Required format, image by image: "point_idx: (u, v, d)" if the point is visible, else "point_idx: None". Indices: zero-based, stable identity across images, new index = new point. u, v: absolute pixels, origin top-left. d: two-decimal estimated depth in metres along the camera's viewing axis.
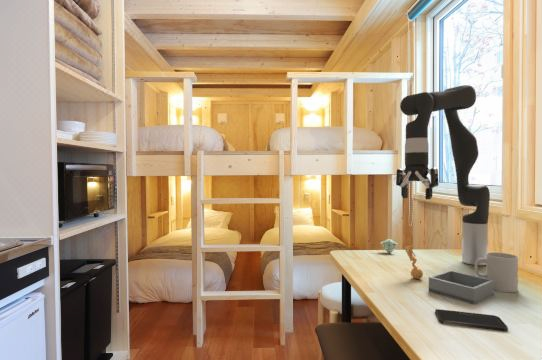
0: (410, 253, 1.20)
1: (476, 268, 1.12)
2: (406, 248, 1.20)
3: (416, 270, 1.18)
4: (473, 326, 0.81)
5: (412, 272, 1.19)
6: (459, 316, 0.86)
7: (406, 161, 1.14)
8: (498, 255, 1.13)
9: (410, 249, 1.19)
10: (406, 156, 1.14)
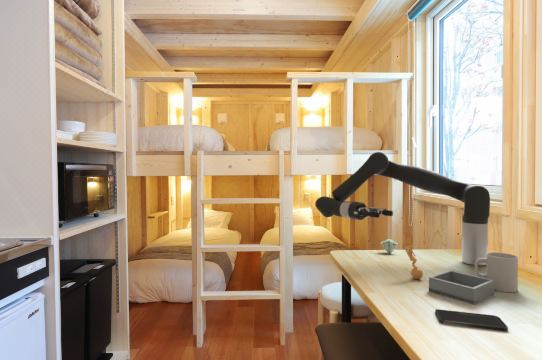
0: (410, 253, 1.20)
1: (476, 268, 1.12)
2: (406, 248, 1.20)
3: (416, 270, 1.18)
4: (473, 326, 0.81)
5: (412, 272, 1.19)
6: (459, 316, 0.86)
7: None
8: (498, 255, 1.13)
9: (410, 249, 1.19)
10: None
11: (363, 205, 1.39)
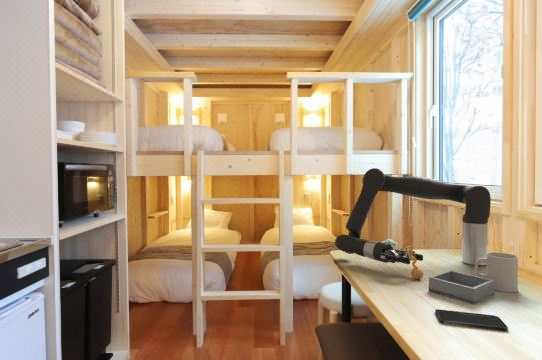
0: (410, 253, 1.20)
1: (476, 268, 1.12)
2: (406, 248, 1.20)
3: (416, 270, 1.18)
4: (473, 326, 0.81)
5: (412, 272, 1.19)
6: (459, 316, 0.86)
7: None
8: (498, 255, 1.13)
9: (410, 249, 1.19)
10: None
11: (389, 246, 1.29)
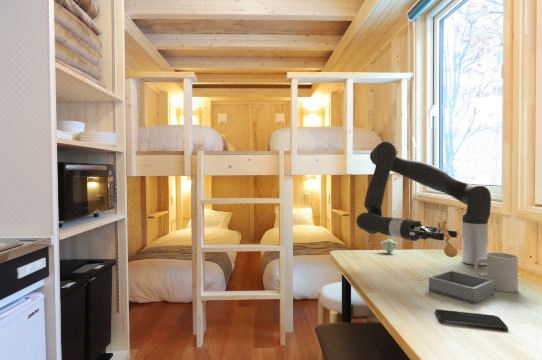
0: (443, 229, 1.09)
1: (476, 268, 1.12)
2: (439, 223, 1.09)
3: (451, 247, 1.07)
4: (473, 326, 0.81)
5: (446, 249, 1.08)
6: (459, 316, 0.86)
7: None
8: (498, 255, 1.13)
9: (443, 224, 1.09)
10: None
11: (418, 223, 1.18)
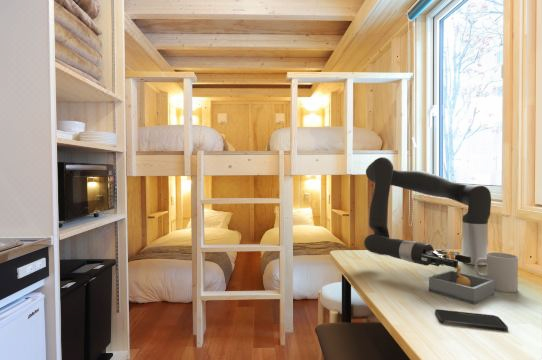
0: None
1: (476, 268, 1.12)
2: (447, 255, 1.07)
3: (463, 278, 1.04)
4: (473, 326, 0.81)
5: (458, 282, 1.04)
6: (459, 316, 0.86)
7: None
8: (498, 255, 1.13)
9: (452, 256, 1.06)
10: None
11: (430, 247, 1.14)
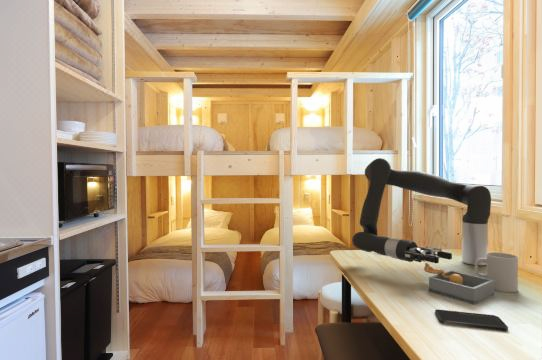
0: (431, 269, 1.11)
1: (476, 268, 1.12)
2: (424, 269, 1.12)
3: (450, 276, 1.07)
4: (473, 326, 0.81)
5: None
6: (459, 316, 0.86)
7: None
8: (498, 255, 1.13)
9: (428, 266, 1.12)
10: None
11: (414, 244, 1.19)
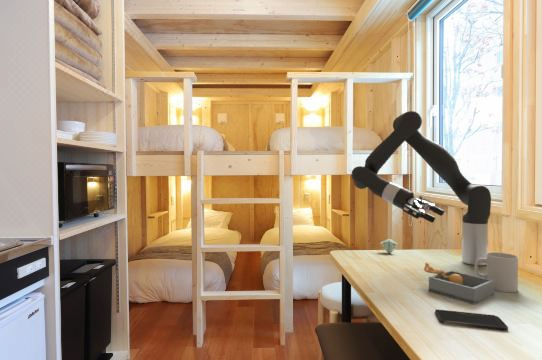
0: (431, 269, 1.11)
1: (476, 268, 1.12)
2: (424, 269, 1.12)
3: (450, 276, 1.07)
4: (473, 326, 0.81)
5: None
6: (459, 316, 0.86)
7: None
8: (498, 255, 1.13)
9: (428, 266, 1.12)
10: None
11: (412, 195, 1.23)
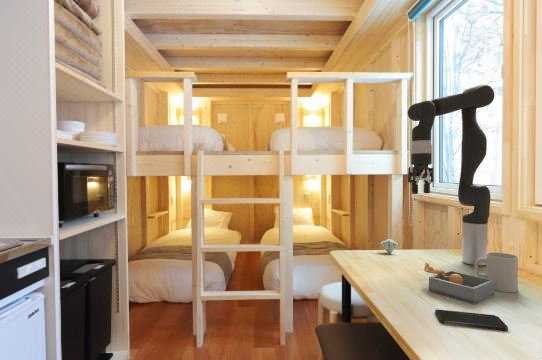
0: (431, 269, 1.11)
1: (476, 268, 1.12)
2: (424, 269, 1.12)
3: (450, 276, 1.07)
4: (474, 326, 0.81)
5: None
6: (459, 316, 0.86)
7: None
8: (498, 255, 1.13)
9: (428, 266, 1.12)
10: None
11: (428, 164, 1.29)
